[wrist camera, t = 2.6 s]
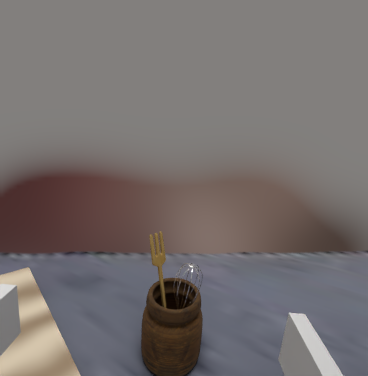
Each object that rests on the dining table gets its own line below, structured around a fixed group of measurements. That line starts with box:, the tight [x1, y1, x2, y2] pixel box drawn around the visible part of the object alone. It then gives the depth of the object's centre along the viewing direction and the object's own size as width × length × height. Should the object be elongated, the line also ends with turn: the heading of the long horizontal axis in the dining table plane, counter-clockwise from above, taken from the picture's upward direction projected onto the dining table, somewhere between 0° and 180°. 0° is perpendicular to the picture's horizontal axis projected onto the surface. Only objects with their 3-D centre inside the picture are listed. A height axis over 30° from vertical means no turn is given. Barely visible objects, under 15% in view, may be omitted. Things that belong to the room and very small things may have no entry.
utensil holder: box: [141, 232, 203, 376], centre depth 23 cm, size 6×6×12 cm
